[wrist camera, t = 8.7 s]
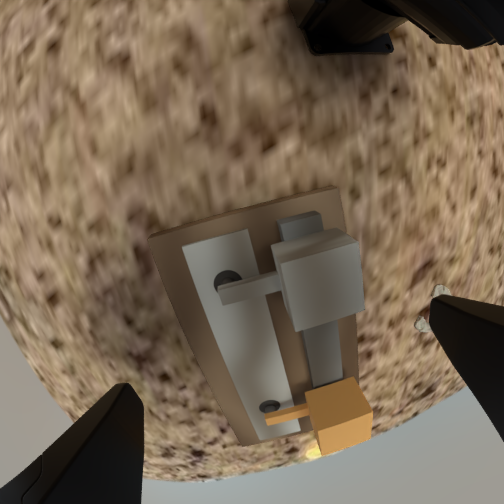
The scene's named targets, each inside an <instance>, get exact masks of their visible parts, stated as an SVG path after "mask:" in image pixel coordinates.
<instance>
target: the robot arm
mask: <svg viewBox="0 0 504 504" xmlns="http://www.w3.org/2000/svg"><path fill="white" fill-rule="evenodd" d="M288 3H289V6H290V8H291V11H292V13H293V16H294V19H295V21H296V24H297V27H298V28H300V29H301V30H302V31H303V34H304V36H305V39H306V42H307V45H308V48H309V51H310V52H311V53H312V54H313V55H315V56H323V55H339V54H390V53H392V52H393V50H394V47H393V44H392V42H391V39H390V36H389V34H388V32H390V31H391V30H393V29H394V28H396V27H398V26H399V25H401V24H403V23H404V22H406V21H408V20H409V21H410V22H412V23H413V24H415V25H416V26H417V27H419V28H420V29H421V30H423V31H424V32H425V33H426V34H428V35H429V38H430V39H432V40H433V41H434V42H435V43H438V44H450V45H461V46H462V47H463V48H464V49H466V50H470V49H475V48H479V47H482V46H487V45H492V44H494V43H496V42H497V43H498V44H499V45H504V0H288ZM385 45H386V46H387V47H388V49H387V48H386V47H385ZM314 46H317V47H319V48H320V51H318V50H316V49H315V48H314ZM429 325H430V328H431V330H432V331H433V333H434V335H435V336H436V338H437V340H438V341H439V343H440V344H441V346H442V348H443V350H444V351H445V353H446V355H447V356H448V358H449V360H450V361H451V363H452V365H453V366H454V367H455V369H456V370H457V372H458V373H459V374H460V376H461V377H462V379H463V380H464V381H465V383H466V384H467V386H468V387H469V389H470V390H471V391H472V393H473V394H474V396H475V397H476V399H477V400H478V402H479V403H480V405H481V406H482V408H483V409H484V411H485V412H486V414H487V416H488V417H489V419H490V420H491V422H492V423H493V425H494V427H495V428H496V430H497V432H498V433H499V435H500V437H501V438H502V440H503V442H504V306H499V305H494V304H489V303H485V302H480V301H475V300H470V299H465V298H460V297H456V296H451V295H446V294H441V295H439V296H436V297H434V298H433V299H432V300H431V303H430V315H429ZM143 462H144V406H143V403H142V401H141V399H140V398H139V396H138V395H137V393H136V392H135V390H134V389H133V387H132V386H131V385H130V384H129V383H119V384H116V385H114V386H113V387H112V388H111V389H110V390H109V391H108V392H107V393H106V394H105V395H104V396H103V397H102V398H100V399H99V400H98V401H97V402H96V403H95V404H94V405H93V406H92V407H91V408H90V409H89V410H88V411H87V412H86V413H85V414H83V415H82V416H81V417H80V418H79V419H78V420H77V421H76V422H75V423H74V424H73V425H72V426H71V427H70V428H69V429H68V430H66V431H65V432H64V434H62V435H61V436H60V437H59V438H58V439H57V440H56V441H55V442H54V443H53V444H52V445H51V446H49V447H48V448H47V449H46V450H45V451H44V452H43V453H42V455H40V456H39V457H38V458H37V459H36V460H35V461H33V462H32V463H31V464H30V465H29V466H28V467H27V468H26V469H24V470H23V471H22V472H21V473H20V474H18V475H17V476H16V477H15V478H13V479H12V480H11V481H9V482H8V483H7V484H6V485H4V486H3V487H2V488H0V504H141V494H142V492H141V491H142V476H143Z"/></svg>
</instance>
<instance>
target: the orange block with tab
mask: <svg viewBox="0 0 504 504" xmlns="http://www.w3.org/2000/svg"><path fill="white" fill-rule="evenodd" d="M305 397H306V402H307V403H304V404H301V405H297V406H294V407H290V408H286V409H282V410H278V411H276V408H275V407H274V406H267V407H266V408H265V414H264V416H265V420H266V423H267V425H268V426H269V425H274V424H278V423H282V422H286V421H290V420H293V419H297V418H301V417H304V416H308V415H309V416H310V421H311V424H312V427H313V430H314V433H315V436H316V439H317V442H318V445H319V448H320V452H321V455H322V456H323V455H326V454H330V453H333V452H336V451H339V450H342V449H345V448H347V447H350V446H353V445H356V444H358V443H361V442H364V441H366V440H369V439H370V438H371V428H372V417H373V411H372V409H371V407H370V405H369V403H368V402H367V400H366V398H365V396H364V394H363V392H362V391H361V389H360V387H359V385H358V383H357V382H356V380H355V378H354V376H353V377H350V378H347V379H344V380H341V381H338V382H336V383H333V384H330V385H326V386H323V387H320V388H317V389H314V390H310V391H307V392H305Z"/></svg>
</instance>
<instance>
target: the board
mask: <svg viewBox="0 0 504 504" xmlns="http://www.w3.org/2000/svg"><path fill="white" fill-rule="evenodd" d="M147 241H148V244H149V246H150V249H151V252H152V255H153V257H154V260H155V263H156V265H157V268H158V271H159V273H160V276H161V279H162V281H163V284H164V286H165V289H166V291H167V294H168V296H169V299H170V301H171V304H172V306H173V308H174V311H175V313H176V315H177V318H178V320H179V322H180V325H181V327H182V329H183V332H184V334H185V336H186V338H187V341H188V343H189V345H190V347H191V349H192V351H193V354H194V356H195V358H196V360H197V362H198V364H199V366H200V368H201V370H202V372H203V374H204V376H205V378H206V380H207V382H208V384H209V386H210V388H211V390H212V392H213V394H214V396H215V398H216V400H217V402H218V404H219V406H220V408H221V409H222V411H223V413H224V415H225V417H226V419H227V420H228V422H229V424H230V426H231V428H232V429H233V431H234V433H235V435H236V436H237V438H238V440H239V442H240V443H241V445H242V447H243V446H249V445H254V444H259V443H264V442H269V441H273V440H278V439H282V438H286V437H290V436H294V435H297V434H301V433H305V432H308V431H312V430H313V427H312V424H311V421H310V416H309V415H308V416H304V417H301V418H297V419H293V420H290V421H286V422H282V423H278V424H274V425H269V426H268V425H267V423H266V420H265V416H264V414H265V408H266V407H267V406H274V407H275V408H276V411H278V410H282V409H286V408H290V407H294V406H297V405H301V404H304V403H307V402H306V397H305V392H307V391H310V390H314V389H317V388H320V387H323V386H326V385H330V384H333V383H336V382H338V381H341V380H344V379H347V378H350V377H353V376H354V378H355V380H356V382H357V383H358V385H359V369H358V344H357V327H356V314H355V313H358V312H361V311H363V310H365V305H364V291H363V279H362V269H361V259H360V250H359V242H358V241H357V240H355V239H354V238H352V237H351V236H349V235H348V234H346V227H345V221H344V215H343V209H342V203H341V197H340V192H339V188H338V187H334V186H329V187H325V188H320V189H316V190H312V191H308V192H304V193H299V194H295V195H291V196H287V197H283V198H279V199H275V200H271V201H267V202H264V203H260V204H256V205H252V206H248V207H245V208H241V209H237V210H233V211H230V212H226V213H222V214H219V215H215V216H212V217H208V218H205V219H201V220H198V221H194V222H191V223H187V224H184V225H181V226H177V227H174V228H170V229H167V230H164V231H161V232H157V233H154V234H151V235H150V237H149V238H148V239H147Z"/></svg>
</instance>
